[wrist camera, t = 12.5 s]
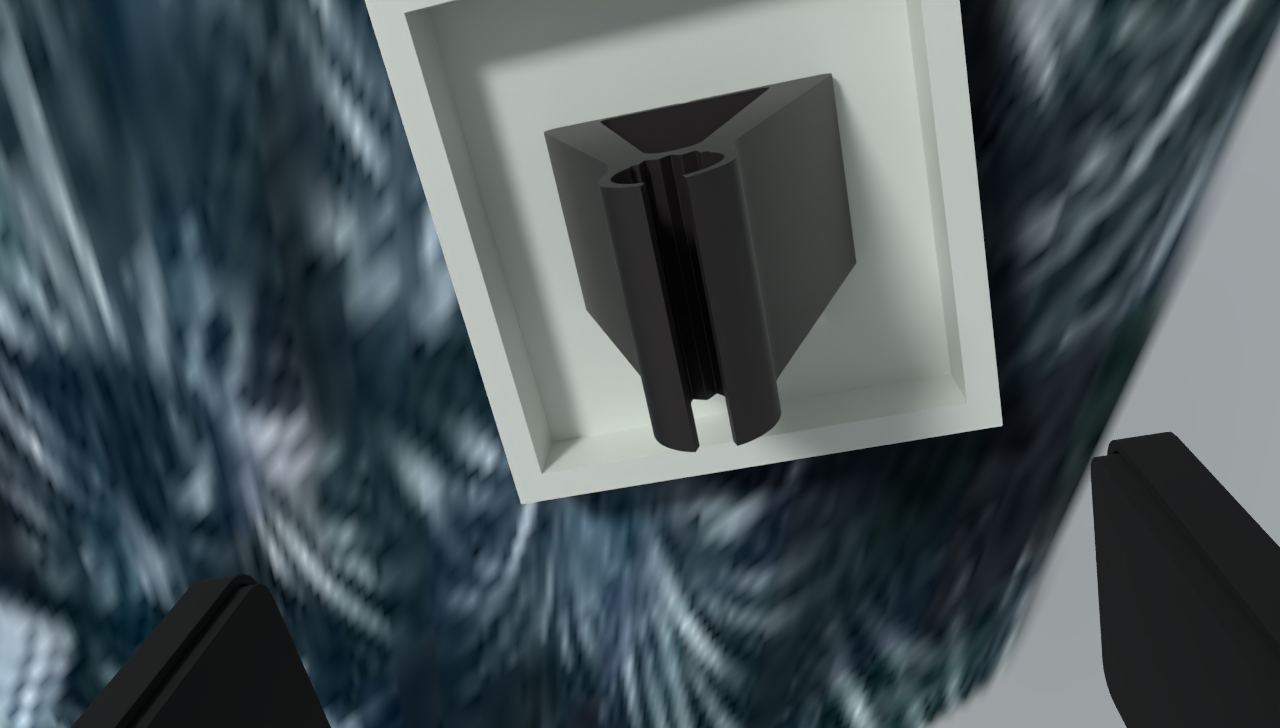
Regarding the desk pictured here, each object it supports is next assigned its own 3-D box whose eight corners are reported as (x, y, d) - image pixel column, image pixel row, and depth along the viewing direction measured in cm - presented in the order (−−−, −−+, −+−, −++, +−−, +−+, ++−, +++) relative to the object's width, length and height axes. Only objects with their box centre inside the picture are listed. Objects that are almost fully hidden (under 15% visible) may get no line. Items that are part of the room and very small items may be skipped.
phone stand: (831, 72, 29) (898, 136, 18) (854, 260, 31) (926, 420, 20) (545, 128, 31) (445, 220, 20) (586, 305, 33) (517, 478, 22)
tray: (920, -153, 27) (943, -166, 25) (979, 387, 33) (1002, 425, 31) (393, -18, 30) (359, -17, 27) (537, 462, 36) (521, 504, 33)
